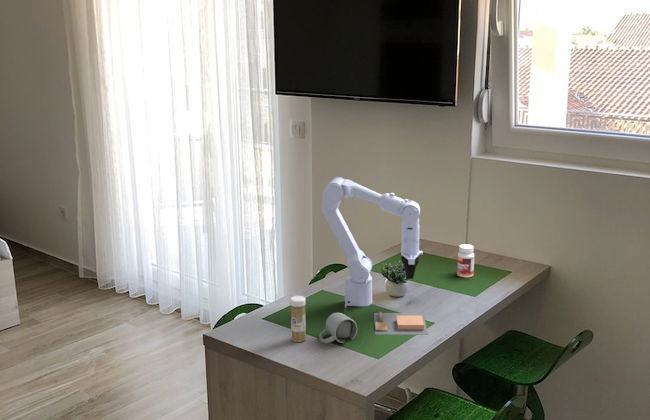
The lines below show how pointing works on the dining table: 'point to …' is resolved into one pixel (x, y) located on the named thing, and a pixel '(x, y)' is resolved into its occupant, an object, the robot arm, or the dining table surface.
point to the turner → (380, 323)
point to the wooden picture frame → (410, 323)
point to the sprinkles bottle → (298, 318)
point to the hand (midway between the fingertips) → (409, 278)
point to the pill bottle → (465, 261)
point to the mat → (392, 324)
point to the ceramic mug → (339, 328)
